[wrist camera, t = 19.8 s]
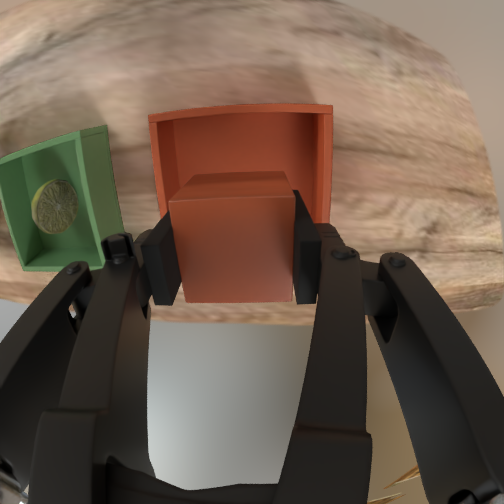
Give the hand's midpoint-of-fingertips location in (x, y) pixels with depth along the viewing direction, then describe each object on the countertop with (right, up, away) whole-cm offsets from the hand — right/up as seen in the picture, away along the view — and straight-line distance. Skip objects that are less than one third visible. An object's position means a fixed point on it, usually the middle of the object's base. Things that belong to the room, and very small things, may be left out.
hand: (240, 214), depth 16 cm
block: (0, 0, 0) cm, 0 cm away
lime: (-18, +3, +8) cm, 19 cm away
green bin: (-18, +3, +8) cm, 20 cm away
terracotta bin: (0, +4, +7) cm, 8 cm away
